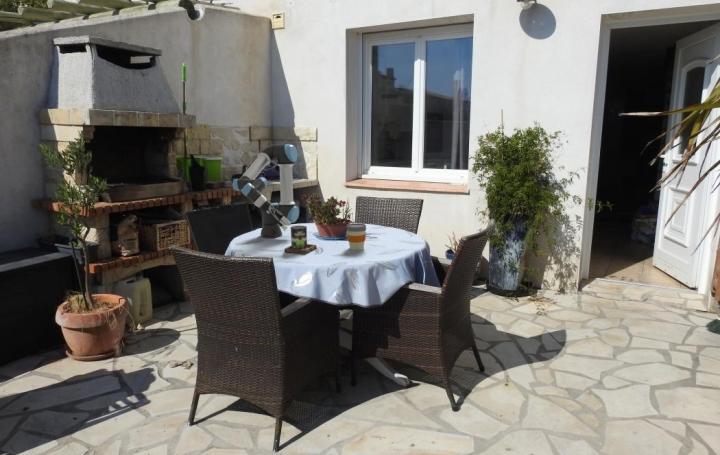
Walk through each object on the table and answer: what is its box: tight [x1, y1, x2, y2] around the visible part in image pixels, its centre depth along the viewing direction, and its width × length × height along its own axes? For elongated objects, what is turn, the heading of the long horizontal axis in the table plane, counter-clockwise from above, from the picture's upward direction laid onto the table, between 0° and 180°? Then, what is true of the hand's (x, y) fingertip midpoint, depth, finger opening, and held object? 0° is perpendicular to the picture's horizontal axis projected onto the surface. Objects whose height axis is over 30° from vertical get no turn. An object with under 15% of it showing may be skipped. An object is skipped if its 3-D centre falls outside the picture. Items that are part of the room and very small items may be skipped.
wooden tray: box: [283, 243, 318, 255], centre depth 334 cm, size 15×15×2 cm
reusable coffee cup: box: [346, 222, 367, 251], centre depth 336 cm, size 12×13×15 cm
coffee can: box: [290, 225, 308, 250], centre depth 334 cm, size 10×10×14 cm
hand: (288, 227), depth 330 cm, fingers open, 13 cm apart
